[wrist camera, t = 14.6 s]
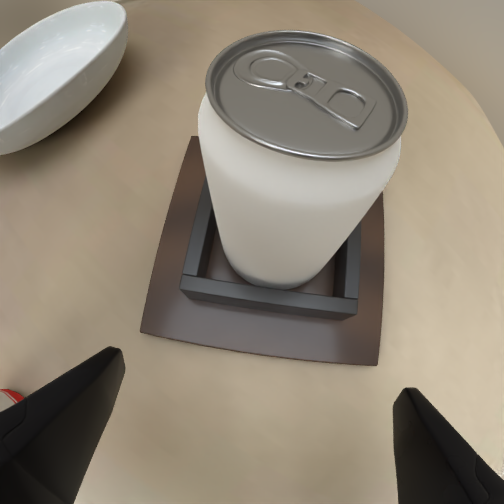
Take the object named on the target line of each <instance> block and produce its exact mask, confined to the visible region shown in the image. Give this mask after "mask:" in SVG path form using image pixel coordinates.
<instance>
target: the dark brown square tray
mask: <svg viewBox="0 0 504 504" xmlns="http://www.w3.org/2000/svg"><path fill="white" fill-rule="evenodd" d="M383 288H384V209H383V191H382V192H381V193H380V195H379V196H378V198H377V199H376V200H375V202H374V203H373V204H372V206H371V207H370V208H369V210H368V211H367V213H366V214H365V215H364V217H363V218H362V219H361V220H360V222H359V223H358V224H357V226H356V227H355V228H354V230H353V231H352V232H351V234H350V235H349V236H348V237H347V239H346V240H345V241H344V242H343V244H342V245H341V246H340V247H339V249H338V250H337V251H336V252H335V254H334V255H333V256H332V257H331V259H330V260H329V261H328V262H327V263H326V265H325V266H324V267H323V268H322V269H321V270H320V272H319V273H318V274H317V275H316V276H315V277H313V278H312V279H311V280H309V281H308V282H306V283H305V284H303V285H300V286H298V287H295V288H292V289H287V290H281V289H274V288H267V287H260V286H255V285H253V284H251V283H249V282H248V281H246V280H245V279H243V278H242V277H241V276H240V275H238V274H237V273H236V271H235V270H234V269H233V268H232V266H231V265H230V263H229V262H228V260H227V258H226V255H225V253H224V250H223V246H222V242H221V238H220V234H219V230H218V226H217V222H216V217H215V213H214V209H213V204H212V200H211V195H210V191H209V186H208V181H207V177H206V172H205V167H204V162H203V157H202V152H201V147H200V140H199V136H191V139H190V142H189V145H188V148H187V151H186V154H185V157H184V160H183V163H182V166H181V170H180V173H179V176H178V179H177V183H176V186H175V189H174V192H173V196H172V199H171V203H170V206H169V210H168V213H167V217H166V220H165V224H164V228H163V232H162V235H161V239H160V243H159V247H158V251H157V255H156V259H155V263H154V267H153V271H152V276H151V280H150V284H149V289H148V293H147V298H146V303H145V307H144V312H143V317H142V322H141V327H140V332H141V333H145V334H150V335H154V336H158V337H163V338H168V339H172V340H177V341H182V342H187V343H192V344H197V345H202V346H208V347H213V348H219V349H225V350H231V351H237V352H243V353H250V354H257V355H264V356H271V357H279V358H287V359H295V360H304V361H314V362H325V363H337V364H350V365H366V366H377V365H378V356H379V346H380V336H381V323H382V309H383Z"/></svg>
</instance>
